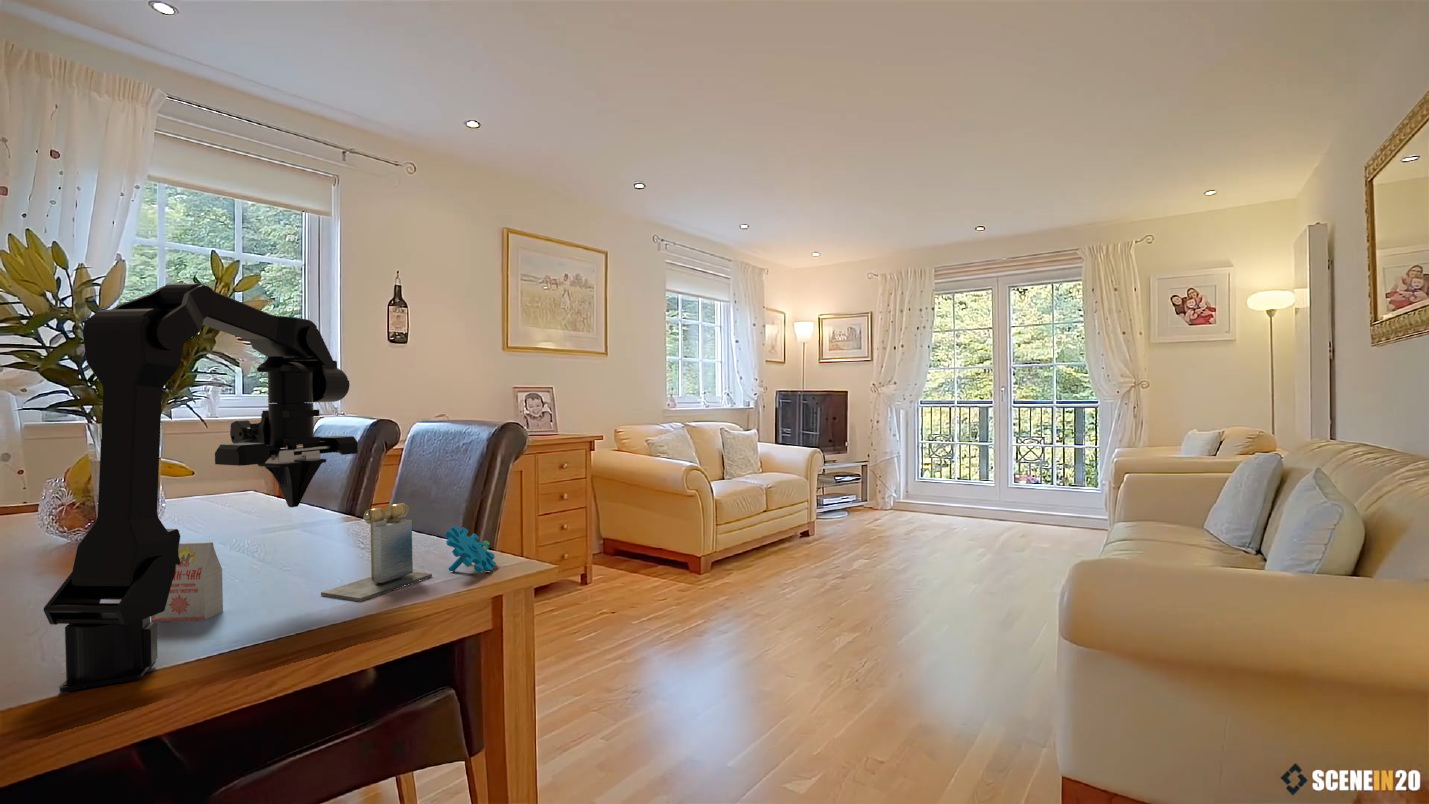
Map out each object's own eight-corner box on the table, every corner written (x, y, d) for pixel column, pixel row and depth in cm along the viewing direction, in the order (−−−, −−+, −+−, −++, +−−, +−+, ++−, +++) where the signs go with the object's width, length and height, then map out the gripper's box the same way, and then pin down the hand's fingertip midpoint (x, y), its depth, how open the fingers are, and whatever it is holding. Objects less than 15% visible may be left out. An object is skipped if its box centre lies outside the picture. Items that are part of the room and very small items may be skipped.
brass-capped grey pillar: (378, 584, 102) (377, 511, 102) (361, 581, 103) (360, 510, 103) (412, 572, 108) (411, 504, 108) (396, 570, 110) (395, 503, 109)
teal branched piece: (478, 571, 106) (440, 525, 108) (452, 597, 106) (415, 550, 108) (510, 563, 117) (475, 521, 119) (487, 586, 117) (452, 544, 119)
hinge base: (360, 601, 96) (358, 519, 96) (321, 595, 99) (319, 515, 99) (432, 576, 109) (430, 503, 108) (395, 572, 112) (394, 501, 111)
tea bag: (171, 612, 92) (169, 540, 92) (223, 610, 93) (221, 539, 93) (151, 621, 89) (149, 546, 88) (204, 620, 89) (202, 545, 89)
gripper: (311, 402, 112) (313, 494, 112) (188, 404, 95) (191, 514, 95) (359, 402, 108) (361, 498, 108) (240, 405, 90) (242, 519, 91)
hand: (293, 506), depth 100 cm, fingers closed
